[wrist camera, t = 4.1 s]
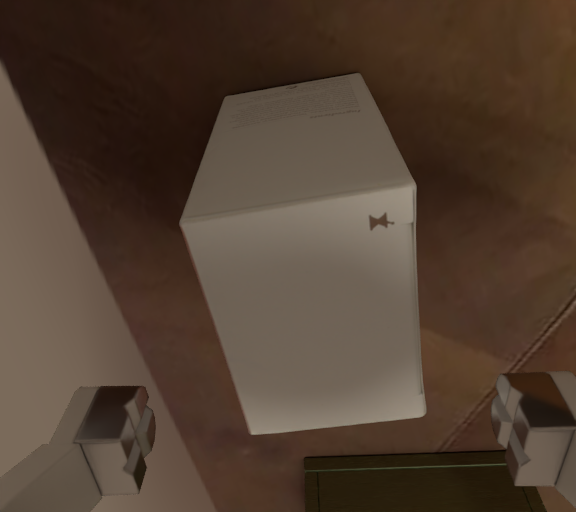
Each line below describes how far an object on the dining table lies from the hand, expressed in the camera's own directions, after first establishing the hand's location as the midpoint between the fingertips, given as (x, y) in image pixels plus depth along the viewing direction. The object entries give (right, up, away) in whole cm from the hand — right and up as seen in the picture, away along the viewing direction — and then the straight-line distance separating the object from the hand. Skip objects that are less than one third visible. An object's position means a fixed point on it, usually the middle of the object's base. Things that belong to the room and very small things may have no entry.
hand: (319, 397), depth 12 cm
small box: (0, +7, +11) cm, 13 cm away
